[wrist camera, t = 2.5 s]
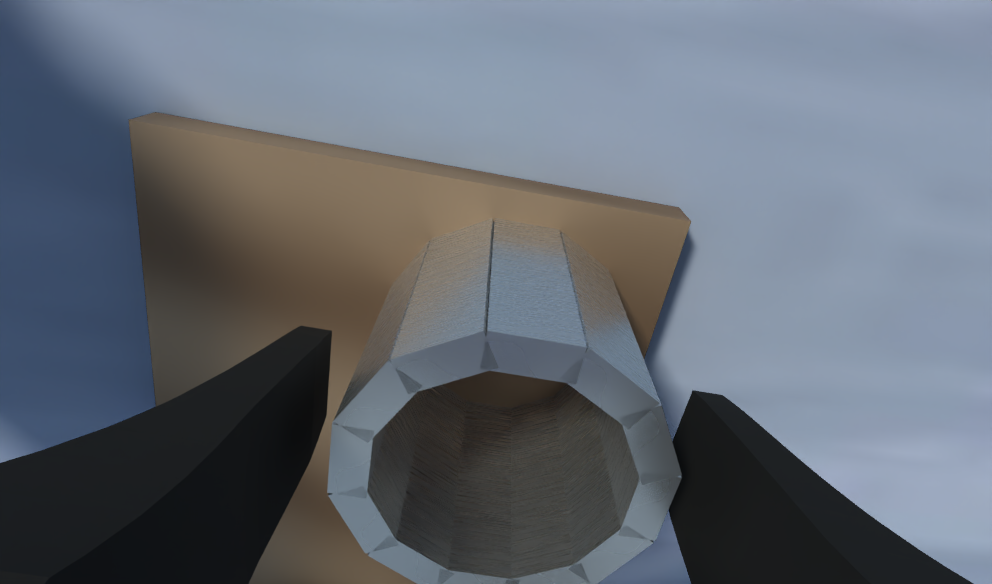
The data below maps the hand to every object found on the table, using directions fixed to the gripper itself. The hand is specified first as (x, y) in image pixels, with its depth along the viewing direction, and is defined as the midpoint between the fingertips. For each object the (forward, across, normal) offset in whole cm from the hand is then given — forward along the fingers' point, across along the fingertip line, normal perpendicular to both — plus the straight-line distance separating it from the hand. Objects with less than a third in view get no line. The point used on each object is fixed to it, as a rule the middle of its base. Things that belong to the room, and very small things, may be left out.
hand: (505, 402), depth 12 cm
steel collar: (+3, 0, 0) cm, 3 cm away
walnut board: (+4, +3, +6) cm, 8 cm away
